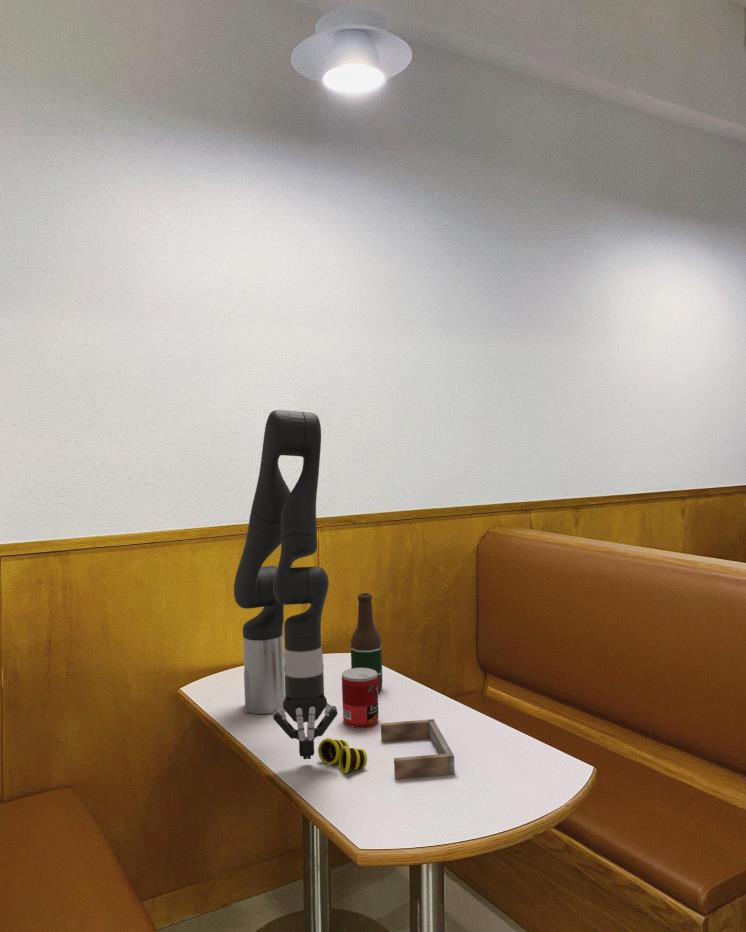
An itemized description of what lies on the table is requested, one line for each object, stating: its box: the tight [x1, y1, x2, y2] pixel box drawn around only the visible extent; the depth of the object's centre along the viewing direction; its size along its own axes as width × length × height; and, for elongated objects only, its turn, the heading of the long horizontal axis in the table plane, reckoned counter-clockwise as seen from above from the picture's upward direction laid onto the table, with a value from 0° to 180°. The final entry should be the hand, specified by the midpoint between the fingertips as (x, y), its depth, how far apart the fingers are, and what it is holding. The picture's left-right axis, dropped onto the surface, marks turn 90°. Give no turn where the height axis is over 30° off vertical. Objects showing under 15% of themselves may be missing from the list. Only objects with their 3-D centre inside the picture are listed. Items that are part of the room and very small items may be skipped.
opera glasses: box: [317, 737, 368, 774], centre depth 152 cm, size 10×5×5 cm, turn 40°
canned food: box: [341, 668, 380, 728], centre depth 173 cm, size 8×8×11 cm
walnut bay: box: [380, 718, 456, 780], centre depth 155 cm, size 11×18×4 cm, turn 8°
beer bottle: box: [350, 592, 383, 694], centre depth 193 cm, size 8×8×24 cm
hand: (306, 757), depth 152 cm, fingers closed
